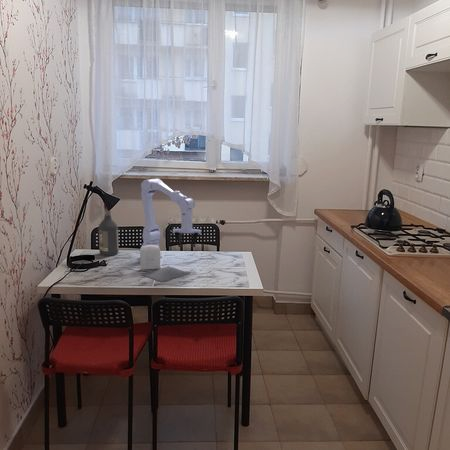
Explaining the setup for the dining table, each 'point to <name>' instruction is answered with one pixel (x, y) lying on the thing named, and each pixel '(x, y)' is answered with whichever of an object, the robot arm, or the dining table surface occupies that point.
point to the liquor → (108, 235)
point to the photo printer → (150, 257)
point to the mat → (165, 274)
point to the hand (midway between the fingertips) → (186, 246)
